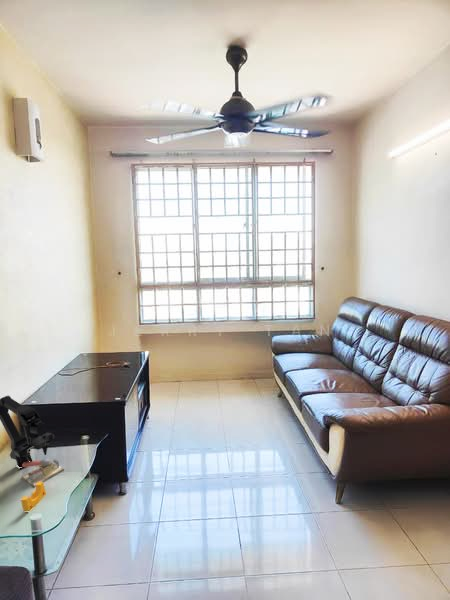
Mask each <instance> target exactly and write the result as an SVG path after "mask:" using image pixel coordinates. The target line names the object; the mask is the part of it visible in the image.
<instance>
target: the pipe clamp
mask: <svg viewBox="0 0 450 600" xmlns="http://www.w3.org/2000/svg"><path fill="white" fill-rule="evenodd" d="M46 495H47V492H46V489H45V484H44V482H38V483H37V484H36V487H35V490H33V492H32V493H31V495H29V496H23V497H22V498H21V499H20V502H21V507H22V508H23V512H24V511H30V510H31V509H32V508H33V507H34V508H36V506H37V505H38V504H39V503H40V502H41V501H42V499H43V498H44V497H45V496H46ZM34 508H33V509H34ZM33 509H32V510H33ZM32 510H31V511H32ZM31 511H30V512H31Z"/></svg>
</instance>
